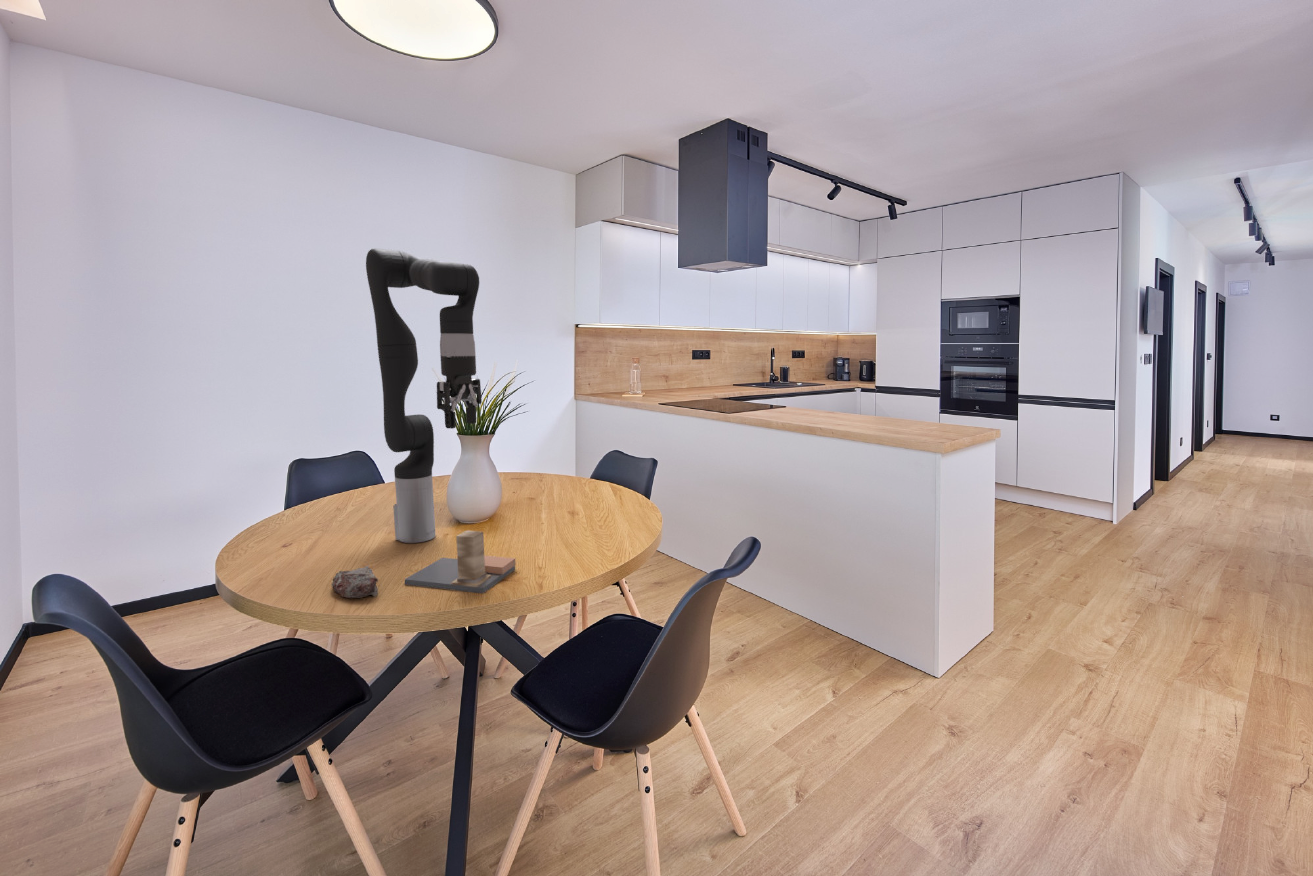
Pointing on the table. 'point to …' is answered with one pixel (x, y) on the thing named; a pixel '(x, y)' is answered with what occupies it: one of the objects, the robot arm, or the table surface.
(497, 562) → the tile
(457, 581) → the cork pad
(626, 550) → the table surface
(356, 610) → the table surface
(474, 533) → the block
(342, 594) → the mineral rock
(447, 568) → the slate board
